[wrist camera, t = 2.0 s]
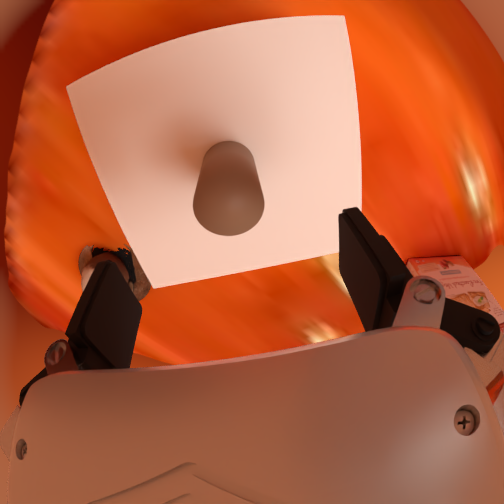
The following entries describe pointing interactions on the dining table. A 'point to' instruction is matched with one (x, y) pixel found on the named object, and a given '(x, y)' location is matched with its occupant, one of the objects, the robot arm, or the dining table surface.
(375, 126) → the dining table surface
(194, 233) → the cover
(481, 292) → the cracker box
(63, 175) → the dining table surface
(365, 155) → the dining table surface
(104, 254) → the skull
